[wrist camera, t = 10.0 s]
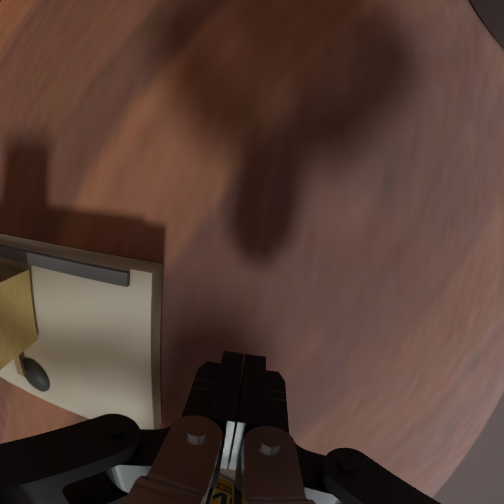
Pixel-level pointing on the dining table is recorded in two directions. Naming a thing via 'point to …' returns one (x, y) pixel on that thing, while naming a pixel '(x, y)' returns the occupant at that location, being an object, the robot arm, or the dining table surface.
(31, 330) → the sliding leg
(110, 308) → the board
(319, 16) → the dining table surface
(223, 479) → the condiment
